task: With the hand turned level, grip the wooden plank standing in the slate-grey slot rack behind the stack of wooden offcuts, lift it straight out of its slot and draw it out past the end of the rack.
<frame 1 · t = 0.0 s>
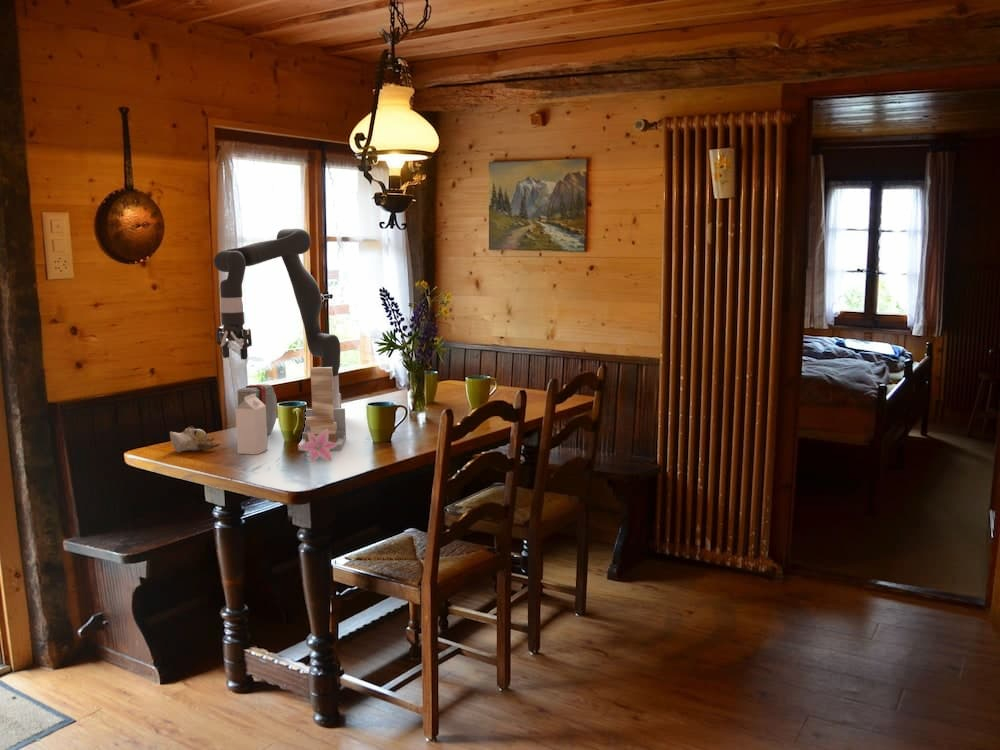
hand: (235, 358, 297), 29 cm above the table, fingers open, 8 cm apart
lily: (319, 459, 279), on the table
slot rack: (323, 444, 298), on the table
milk carton: (253, 452, 288), on the table
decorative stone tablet: (259, 438, 309), on the table
offcut stack: (321, 440, 295), point 2 cm above the table, touching slot rack
ceramic sculpture: (194, 451, 291), on the table
wooden plank: (324, 436, 301), point 2 cm above the table, touching slot rack
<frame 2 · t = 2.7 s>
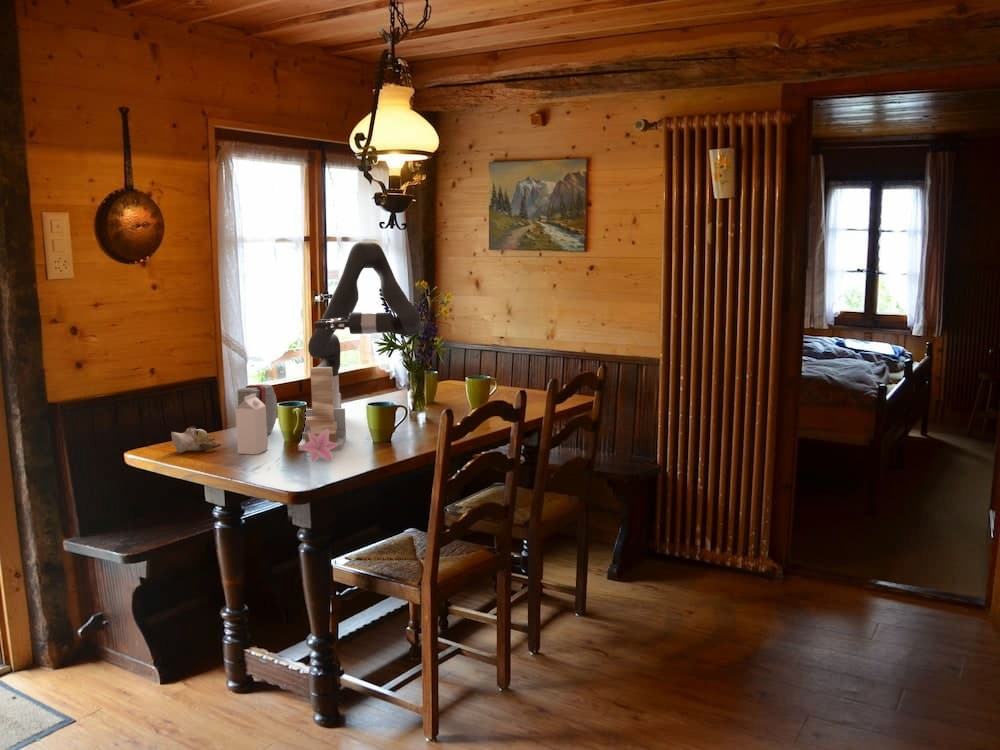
hand: (316, 323, 304), 40 cm above the table, fingers open, 8 cm apart
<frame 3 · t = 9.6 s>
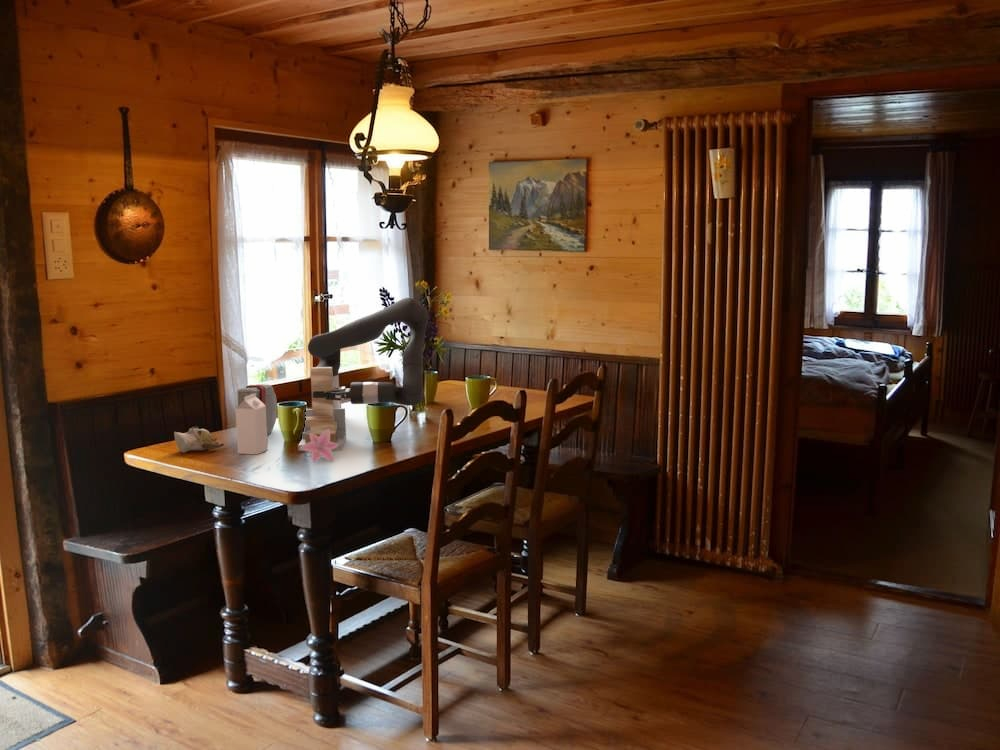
hand: (314, 393, 298), 17 cm above the table, fingers closed on wooden plank, 2 cm apart
wooden plank: (324, 436, 301), point 2 cm above the table, touching gripper, slot rack
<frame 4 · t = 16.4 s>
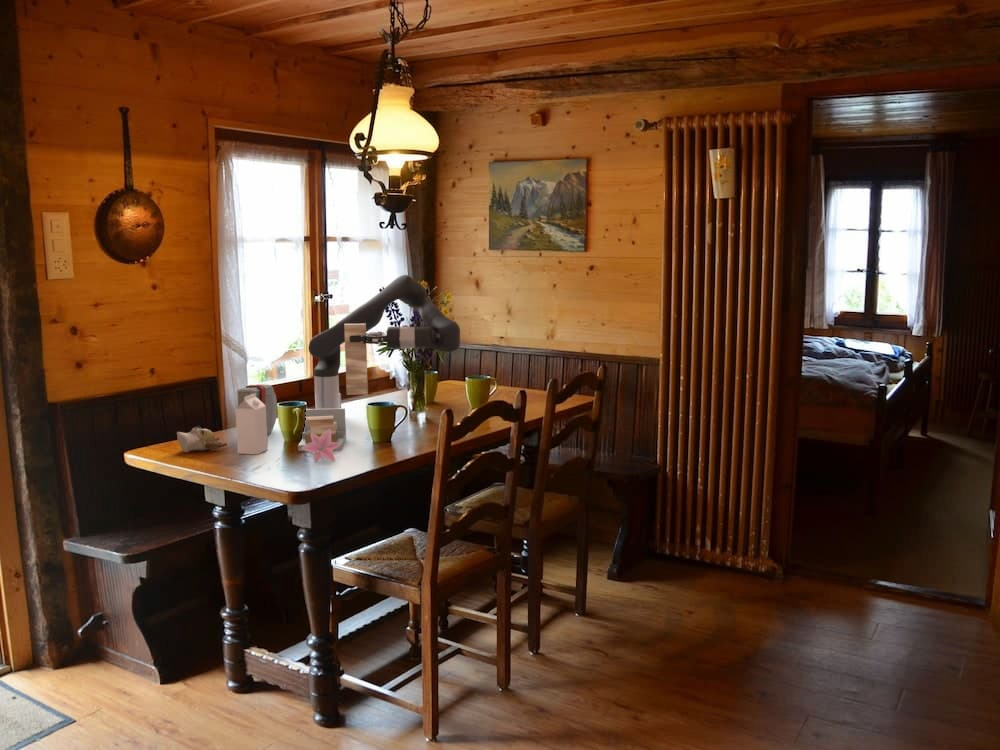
hand: (350, 338, 296), 36 cm above the table, fingers closed on wooden plank
wooden plank: (357, 393, 300), point 17 cm above the table, touching gripper
at the end: wooden plank inside the target area (1.7 cm from its centre), point 16.7 cm above the table; the gripper is holding wooden plank; offcut stack moved 0.0 cm from its start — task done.
